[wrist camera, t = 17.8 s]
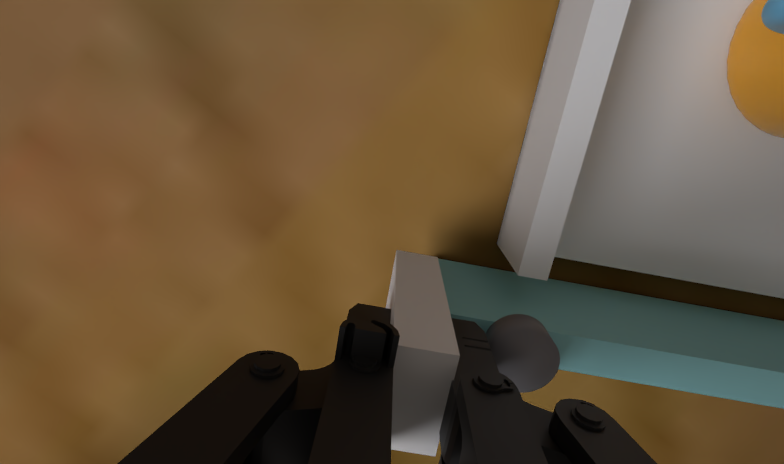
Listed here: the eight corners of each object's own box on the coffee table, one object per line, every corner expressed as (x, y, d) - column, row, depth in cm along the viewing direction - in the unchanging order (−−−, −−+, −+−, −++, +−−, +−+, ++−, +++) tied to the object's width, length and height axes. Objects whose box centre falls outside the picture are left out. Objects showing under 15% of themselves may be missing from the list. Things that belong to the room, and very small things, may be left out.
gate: (421, 292, 19) (430, 377, 13) (431, 247, 18) (445, 315, 13) (836, 366, 19) (1020, 479, 14) (858, 325, 19) (1059, 423, 13)
